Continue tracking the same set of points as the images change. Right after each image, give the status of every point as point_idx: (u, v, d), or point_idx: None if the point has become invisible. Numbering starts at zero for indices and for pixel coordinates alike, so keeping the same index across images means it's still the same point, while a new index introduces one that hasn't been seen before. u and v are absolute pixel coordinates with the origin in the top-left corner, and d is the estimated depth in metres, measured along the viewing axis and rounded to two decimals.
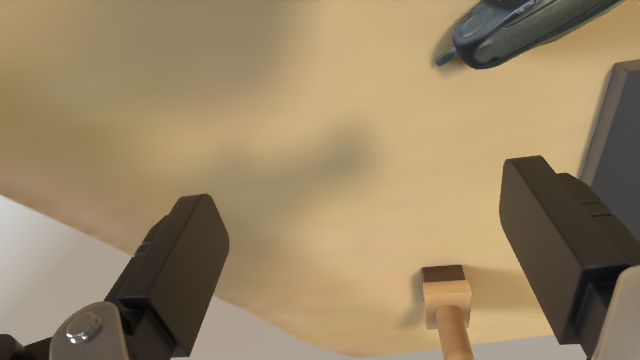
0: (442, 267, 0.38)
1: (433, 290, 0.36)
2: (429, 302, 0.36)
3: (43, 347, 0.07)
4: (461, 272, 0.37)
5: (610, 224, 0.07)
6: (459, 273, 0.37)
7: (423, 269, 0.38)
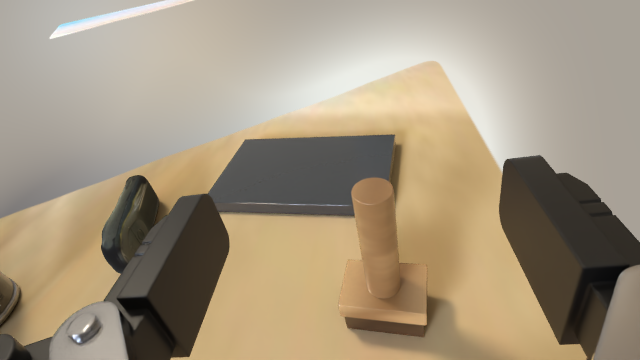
0: None
1: None
2: (355, 302, 0.27)
3: (44, 347, 0.07)
4: None
5: (610, 224, 0.07)
6: None
7: (347, 324, 0.30)
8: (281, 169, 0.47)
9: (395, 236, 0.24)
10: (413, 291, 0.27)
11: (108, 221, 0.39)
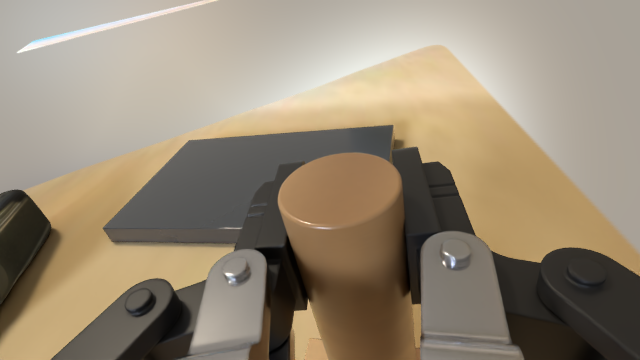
0: None
1: None
2: None
3: (189, 293, 0.08)
4: None
5: (452, 202, 0.08)
6: None
7: None
8: (228, 177, 0.32)
9: (408, 312, 0.09)
10: None
11: None
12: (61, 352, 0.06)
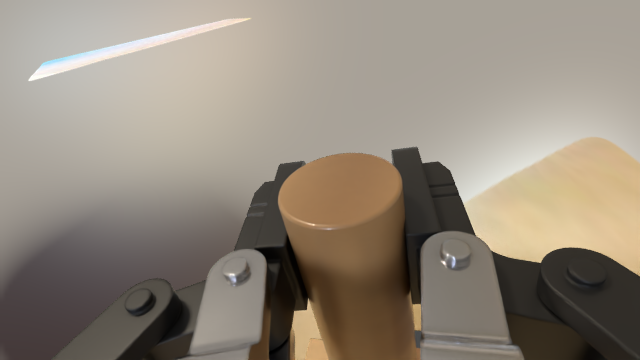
0: None
1: None
2: None
3: (189, 293, 0.08)
4: None
5: (452, 203, 0.08)
6: None
7: None
8: None
9: (409, 312, 0.09)
10: None
11: None
12: (61, 352, 0.06)
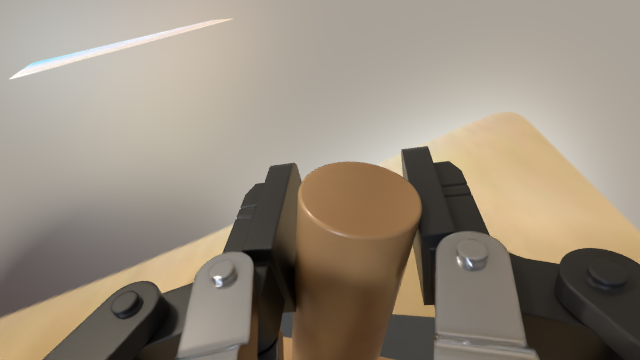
0: None
1: None
2: None
3: (176, 295, 0.08)
4: None
5: (465, 202, 0.08)
6: None
7: None
8: None
9: (388, 323, 0.09)
10: None
11: None
12: (47, 357, 0.06)
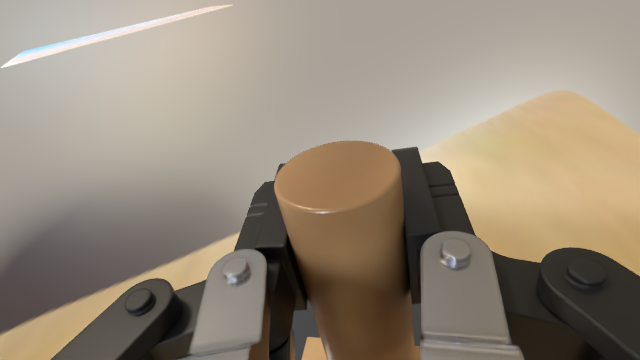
0: None
1: None
2: None
3: (189, 293, 0.08)
4: None
5: (452, 202, 0.08)
6: None
7: None
8: None
9: (408, 304, 0.09)
10: None
11: None
12: (61, 352, 0.06)
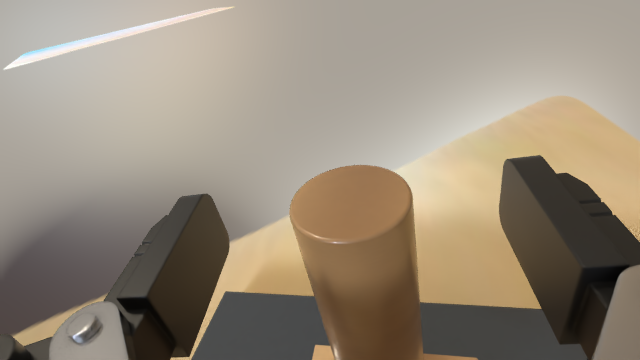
0: None
1: None
2: None
3: (43, 347, 0.07)
4: None
5: (610, 224, 0.07)
6: None
7: None
8: None
9: (418, 321, 0.09)
10: None
11: None
12: None
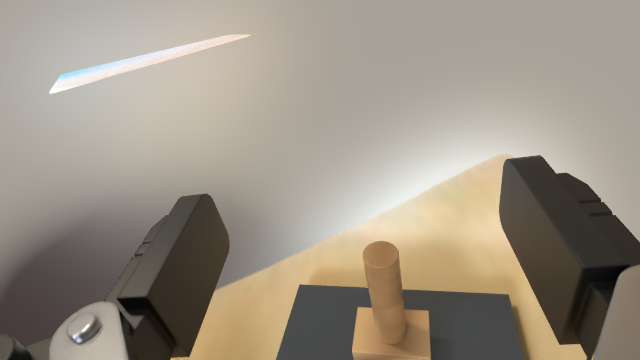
0: None
1: None
2: (367, 348, 0.31)
3: (44, 347, 0.07)
4: None
5: (610, 224, 0.07)
6: None
7: None
8: None
9: (401, 291, 0.28)
10: (418, 336, 0.31)
11: None
12: None
